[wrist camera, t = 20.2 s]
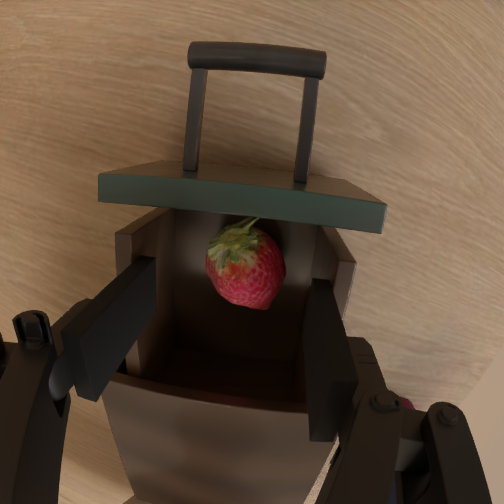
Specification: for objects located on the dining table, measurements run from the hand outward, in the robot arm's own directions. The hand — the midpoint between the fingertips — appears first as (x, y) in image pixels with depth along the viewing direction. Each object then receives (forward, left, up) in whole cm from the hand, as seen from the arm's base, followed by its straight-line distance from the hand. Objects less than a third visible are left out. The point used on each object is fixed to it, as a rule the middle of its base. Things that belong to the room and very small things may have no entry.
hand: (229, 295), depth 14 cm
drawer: (0, -1, -7) cm, 7 cm away
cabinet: (0, +12, -8) cm, 14 cm away
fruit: (0, 0, -6) cm, 6 cm away
